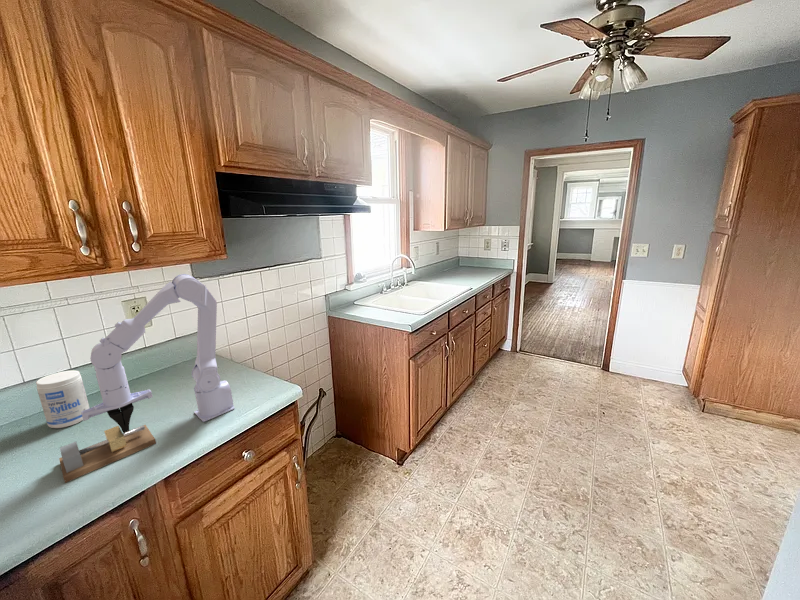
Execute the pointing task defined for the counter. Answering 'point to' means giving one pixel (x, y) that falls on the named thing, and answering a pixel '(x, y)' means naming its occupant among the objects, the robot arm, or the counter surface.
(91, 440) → the counter surface
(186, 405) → the counter surface
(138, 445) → the base
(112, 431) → the nut
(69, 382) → the supplement tub
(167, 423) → the counter surface
